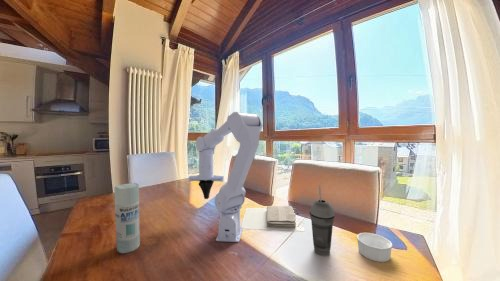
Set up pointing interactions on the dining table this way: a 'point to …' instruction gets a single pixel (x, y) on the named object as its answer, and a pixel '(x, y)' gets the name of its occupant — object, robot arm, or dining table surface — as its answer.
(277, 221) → the washcloth
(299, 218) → the dining table surface
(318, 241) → the beverage cup
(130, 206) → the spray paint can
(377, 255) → the ramekin
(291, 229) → the placemat
